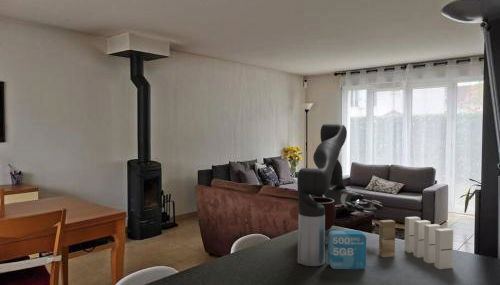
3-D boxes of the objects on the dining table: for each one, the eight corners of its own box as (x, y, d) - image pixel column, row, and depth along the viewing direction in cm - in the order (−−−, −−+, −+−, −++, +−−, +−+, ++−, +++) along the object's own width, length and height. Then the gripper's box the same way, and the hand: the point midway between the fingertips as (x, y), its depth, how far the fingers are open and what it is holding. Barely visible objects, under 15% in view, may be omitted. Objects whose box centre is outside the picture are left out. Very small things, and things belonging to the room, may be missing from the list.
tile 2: (404, 250, 144) (404, 217, 143) (415, 249, 145) (416, 216, 144) (408, 252, 142) (409, 218, 141) (419, 251, 143) (420, 218, 142)
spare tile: (378, 254, 139) (379, 220, 139) (390, 253, 140) (391, 219, 140) (382, 257, 137) (383, 222, 136) (394, 256, 138) (395, 221, 137)
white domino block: (423, 260, 133) (424, 224, 133) (435, 259, 134) (436, 223, 134) (428, 263, 131) (429, 226, 130) (440, 262, 132) (441, 225, 131)
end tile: (434, 266, 128) (435, 229, 127) (447, 265, 129) (447, 228, 128) (439, 269, 126) (440, 231, 125) (452, 267, 127) (453, 230, 126)
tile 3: (413, 255, 139) (414, 220, 138) (425, 254, 140) (426, 220, 139) (417, 257, 136) (418, 222, 136) (429, 256, 137) (430, 221, 137)
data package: (330, 269, 126) (330, 234, 125) (327, 264, 131) (328, 230, 130) (366, 269, 126) (366, 234, 125) (362, 264, 130) (362, 230, 130)
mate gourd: (342, 240, 156) (342, 193, 155) (321, 247, 147) (321, 197, 146) (313, 232, 168) (313, 188, 167) (292, 238, 159) (292, 192, 158)
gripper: (337, 193, 162) (356, 201, 146) (367, 191, 165) (388, 199, 149) (337, 210, 162) (356, 220, 147) (367, 208, 166) (388, 217, 150)
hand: (372, 209), depth 148 cm, fingers open, 8 cm apart
